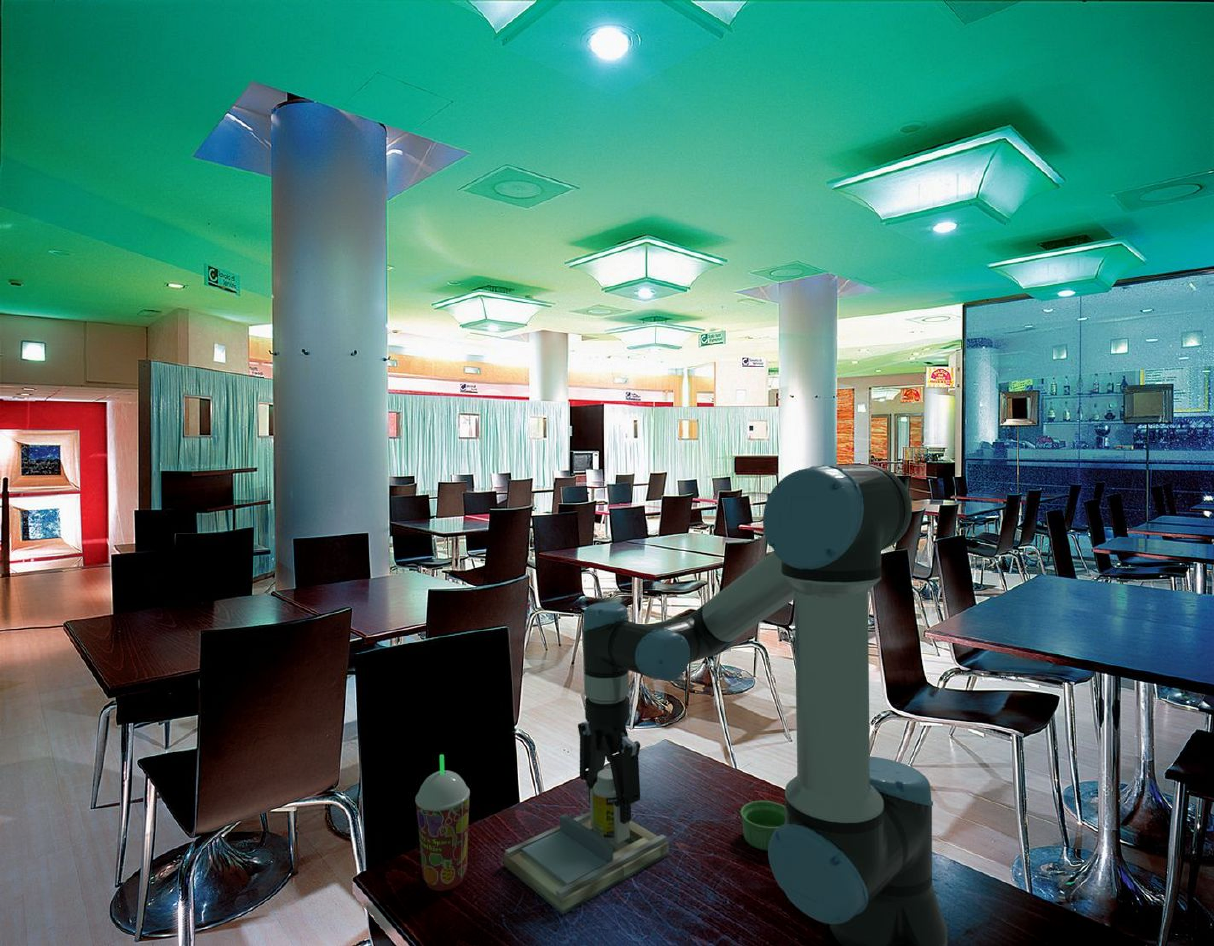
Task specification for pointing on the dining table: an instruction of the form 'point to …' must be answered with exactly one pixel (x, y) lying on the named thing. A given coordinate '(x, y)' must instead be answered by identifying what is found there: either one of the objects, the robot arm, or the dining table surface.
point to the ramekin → (761, 822)
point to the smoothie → (443, 828)
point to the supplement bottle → (604, 804)
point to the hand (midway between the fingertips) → (609, 831)
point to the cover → (570, 851)
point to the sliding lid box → (626, 863)
